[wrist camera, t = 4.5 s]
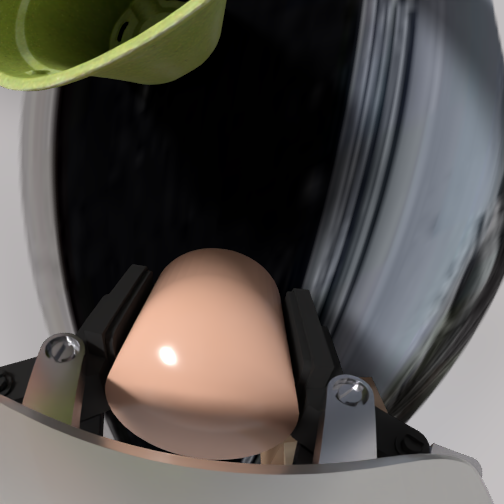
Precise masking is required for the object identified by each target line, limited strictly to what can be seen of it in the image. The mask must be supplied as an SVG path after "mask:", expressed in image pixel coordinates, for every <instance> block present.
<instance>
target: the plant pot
mask: <svg viewBox="0 0 504 504" xmlns="http://www.w3.org/2000/svg"><path fill="white" fill-rule="evenodd" d="M225 6H226V0H188V1H187V2H181V1H176V0H170V1H166V0H0V86H1V87H5V88H8V89H12V90H20V91H39V90H45V89H50V88H55V87H59V86H63V85H66V84H69V83H72V82H75V81H78V80H81V79H83V78H86V77H88V76H97V77H105V78H112V79H118V80H124V81H130V82H135V83H139V84H147V85H152V84H163V83H167V82H171V81H174V80H176V79H178V78H180V77H182V76H183V75H185V74H187V73H189V72H190V71H192V70H194V69H195V68H197V67H198V66H200V65H201V64H202V63H203V62H204V61H205V60H206V59H207V58H208V57H209V56H210V54H211V53H212V52H213V50H214V49H215V47H216V45H217V43H218V41H219V38H220V34H221V28H222V23H223V17H224V11H225ZM125 22H129V23H128V26H127V27H126V29H125V30H124V32H123V35H122V39H121V42H119V41H118V40H117V37H118V34H119V31H120V29H121V27H122V25H123V24H124V23H125Z"/></svg>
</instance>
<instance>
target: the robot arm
mask: <svg viewBox="0 0 504 504" xmlns="http://www.w3.org/2000/svg"><path fill="white" fill-rule="evenodd" d="M152 289H153V273H152V271H148V267H146V266H140V265H134V264H132V265H131V267H130V268H129V269H128V270H127V272H126V273H125V274H124V276H123V277H122V278H121V279H120V281H119V282H118V283H117V285H116V286H115V287H114V289H113V290H112V291H111V293H110V294H109V295H108V294H107V295H105V296H104V297H103V298H102V299H101V301H100V302H99V303H98V305H97V306H96V307H95V309H94V310H93V311H92V313H91V314H90V315H89V317H88V318H87V320H86V321H85V322H84V324H83V325H82V327H81V328H80V329H79V331H78V332H77V334H76V335H74V334H70V333H59V334H55V335H52V336H50V337H49V338H47V339H46V340H45V341H44V342H43V344H42V346H41V348H40V351H39V353H38V356H37V357H34V358H31V359H27V360H24V361H21V362H17V363H13V364H9V365H6V366H2V367H0V504H494V503H493V501H492V498H491V496H490V494H489V492H488V490H487V487H486V485H485V484H484V482H483V480H482V468H481V466H480V464H479V462H478V461H477V460H475V459H474V458H472V457H469V456H466V455H463V454H461V453H458V452H455V451H452V450H450V449H447V448H444V447H442V446H439V445H437V444H434V443H433V444H432V445H431V446H429V443H428V441H427V439H426V438H425V436H424V435H423V434H421V433H420V432H419V431H417V430H415V429H414V428H412V427H410V426H408V425H407V424H405V423H403V422H401V421H400V420H398V419H396V418H395V417H393V416H391V415H389V414H388V413H386V412H384V411H383V410H381V409H379V408H378V407H376V406H375V403H374V394H373V390H372V389H371V387H370V386H369V385H368V384H367V383H366V382H365V381H364V380H362V379H360V378H359V377H356V376H353V375H345V374H343V371H342V368H341V365H340V362H339V359H338V356H337V353H336V350H335V347H334V344H333V341H332V339H331V336H330V333H329V330H328V328H327V327H326V326H321V324H320V321H319V318H318V315H317V312H316V309H315V306H314V303H313V301H312V298H311V295H310V292H309V290H304V289H296V288H293V290H292V292H287V293H286V297H285V300H284V304H283V308H282V310H283V316H284V322H285V328H286V334H287V340H288V346H289V352H290V358H291V364H292V370H293V376H294V383H295V389H296V395H297V402H298V409H299V417H298V422H297V424H296V427H295V428H294V430H293V431H292V433H291V434H290V435H291V436H292V438H294V439H295V440H296V441H297V444H296V449H295V454H294V459H293V463H292V465H267V464H246V463H233V462H222V461H213V460H205V459H198V458H191V457H185V456H179V455H174V454H169V453H164V452H159V451H154V450H150V449H145V448H141V447H137V446H133V445H129V444H126V443H122V442H118V441H115V440H112V439H108V438H105V437H103V424H104V412H106V411H108V410H110V409H111V408H110V406H109V404H108V401H107V398H106V393H105V384H106V380H107V377H108V375H109V373H110V370H111V368H112V366H113V364H114V362H115V360H116V358H117V356H118V354H119V352H120V350H121V348H122V346H123V344H124V342H125V340H126V338H127V336H128V334H129V332H130V330H131V328H132V326H133V324H134V322H135V320H136V319H137V317H138V315H139V313H140V311H141V309H142V307H143V305H144V304H145V302H146V300H147V298H148V296H149V294H150V292H151V291H152Z"/></svg>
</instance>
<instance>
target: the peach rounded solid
mask: <svg viewBox="0 0 504 504" xmlns="http://www.w3.org/2000/svg"><path fill="white" fill-rule="evenodd" d="M105 393H106V398H107V401H108V404H109V406H110V408H111V410H112V411H113V413H114V414H115V416H116V417H117V418H118V419H119V420H120V421H121V423H122V424H123V425H124V426H126V427H127V428H128V429H129V430H130V431H131V432H133V433H134V434H136V435H137V436H138V437H140V438H142V439H143V440H145V441H147V442H149V443H151V444H153V445H155V446H157V447H159V448H162V449H164V450H167V451H170V452H173V453H176V454H180V455H184V456H188V457H194V458H201V459H214V460H224V459H237V458H243V457H248V456H252V455H256V454H259V453H262V452H265V451H267V450H269V449H271V448H273V447H275V446H277V445H278V444H280V443H281V442H282V441H284V440H285V439H286V438H287V437H288V436H289V435H290V434H291V433H292V431H293V430H294V428H295V427H296V424H297V422H298V417H299V409H298V402H297V395H296V389H295V383H294V376H293V370H292V364H291V358H290V352H289V346H288V340H287V334H286V328H285V322H284V316H283V310H282V305H281V299H280V294H279V291H278V288H277V286H276V284H275V282H274V280H273V279H272V277H271V276H270V274H269V273H268V272H267V271H266V270H265V269H264V268H263V267H262V266H261V265H260V264H258V263H257V262H256V261H254V260H252V259H251V258H249V257H247V256H245V255H243V254H240V253H237V252H235V251H231V250H226V249H217V248H208V249H200V250H195V251H192V252H188V253H186V254H184V255H182V256H180V257H178V258H176V259H175V260H173V261H172V262H171V263H170V264H169V265H168V266H167V267H166V268H165V269H164V270H163V272H162V273H161V275H160V276H159V278H158V280H157V282H156V283H155V285H154V287H153V289H152V291H151V292H150V294H149V296H148V298H147V300H146V302H145V304H144V305H143V307H142V309H141V311H140V313H139V315H138V317H137V319H136V320H135V322H134V324H133V326H132V328H131V330H130V332H129V334H128V336H127V338H126V340H125V342H124V344H123V346H122V348H121V350H120V352H119V354H118V356H117V358H116V360H115V362H114V364H113V366H112V368H111V370H110V373H109V375H108V377H107V380H106V384H105Z"/></svg>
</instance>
